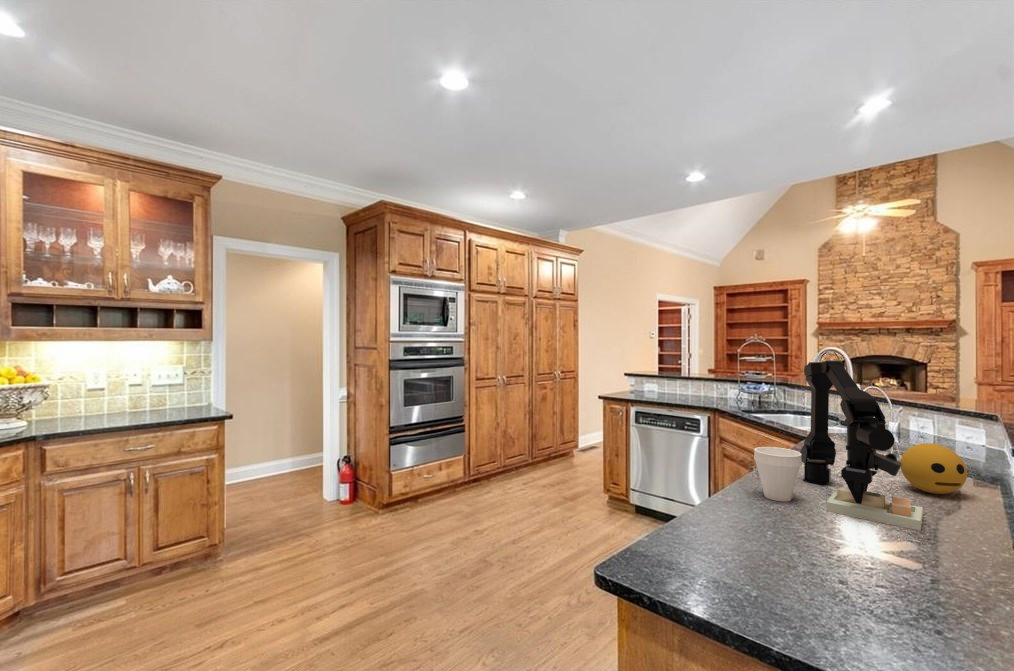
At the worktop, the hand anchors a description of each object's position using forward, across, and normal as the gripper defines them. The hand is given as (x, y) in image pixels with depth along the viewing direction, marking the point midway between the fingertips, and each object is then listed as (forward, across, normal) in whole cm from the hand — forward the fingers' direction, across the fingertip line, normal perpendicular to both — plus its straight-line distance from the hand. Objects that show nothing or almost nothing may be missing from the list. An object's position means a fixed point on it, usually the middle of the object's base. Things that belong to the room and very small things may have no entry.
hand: (860, 499), depth 124 cm
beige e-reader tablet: (+2, 0, 0) cm, 2 cm away
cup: (+3, -4, +19) cm, 20 cm away
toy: (+3, +36, -14) cm, 38 cm away
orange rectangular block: (+2, 0, -8) cm, 9 cm away
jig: (+3, 0, -3) cm, 4 cm away
